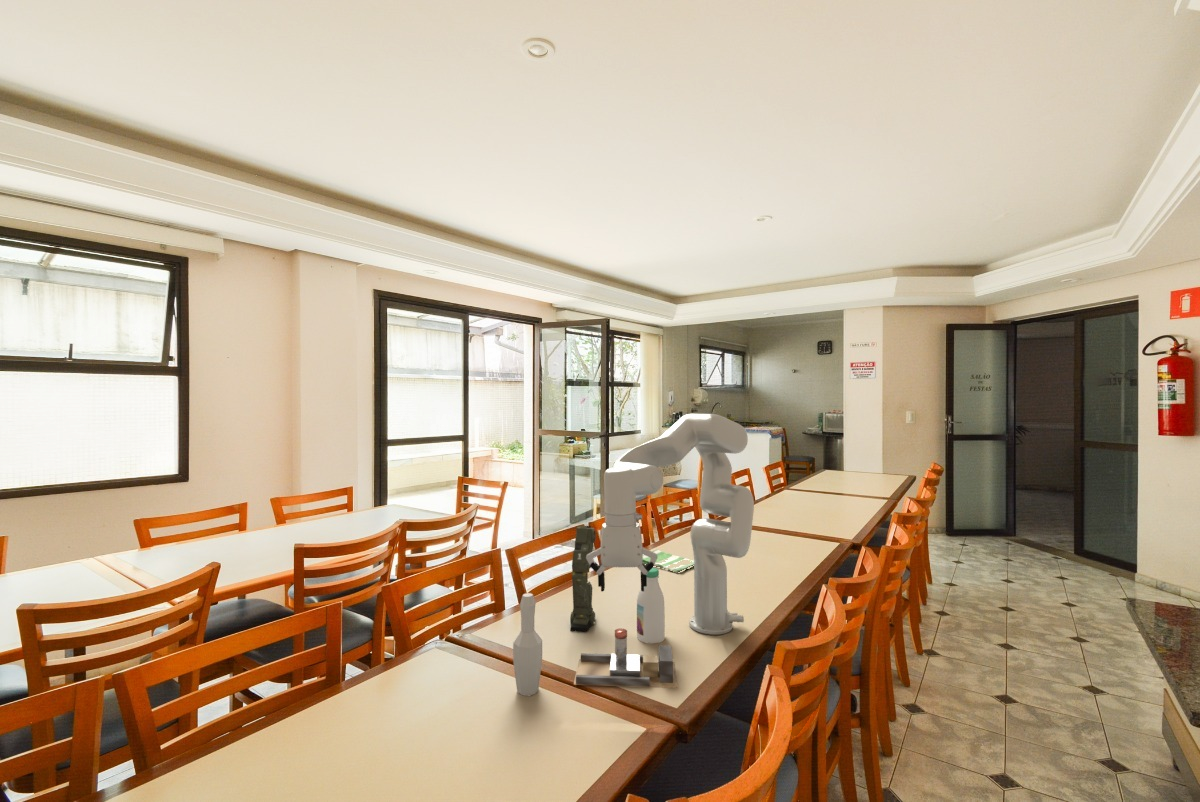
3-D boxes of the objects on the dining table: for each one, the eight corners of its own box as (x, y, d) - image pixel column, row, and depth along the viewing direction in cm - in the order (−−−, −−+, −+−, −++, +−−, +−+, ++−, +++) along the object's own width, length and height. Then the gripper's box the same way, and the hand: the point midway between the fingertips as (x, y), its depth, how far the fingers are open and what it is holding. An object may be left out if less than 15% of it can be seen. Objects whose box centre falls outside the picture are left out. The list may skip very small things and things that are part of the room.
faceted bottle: (529, 701, 117) (529, 602, 118) (508, 692, 121) (508, 596, 121) (547, 687, 123) (547, 593, 123) (526, 680, 126) (526, 588, 126)
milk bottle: (667, 637, 149) (666, 566, 149) (661, 649, 142) (661, 575, 142) (640, 633, 152) (640, 564, 152) (633, 645, 144) (633, 572, 144)
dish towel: (679, 575, 204) (679, 568, 204) (632, 563, 220) (632, 557, 220) (703, 565, 217) (703, 558, 217) (657, 554, 233) (657, 548, 233)
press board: (674, 666, 132) (674, 642, 132) (678, 693, 120) (677, 665, 120) (579, 663, 134) (579, 639, 134) (573, 689, 122) (573, 662, 122)
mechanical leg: (587, 635, 149) (592, 525, 156) (562, 632, 150) (569, 524, 157) (597, 627, 162) (601, 526, 169) (574, 625, 163) (579, 525, 170)
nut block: (657, 670, 128) (657, 655, 128) (658, 677, 125) (658, 662, 125) (643, 669, 129) (643, 655, 129) (643, 677, 125) (643, 662, 125)
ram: (639, 664, 131) (639, 624, 131) (639, 681, 123) (639, 638, 123) (611, 663, 131) (611, 623, 132) (609, 680, 123) (609, 638, 124)
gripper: (655, 515, 131) (657, 583, 131) (586, 516, 132) (588, 583, 132) (657, 522, 123) (659, 595, 124) (583, 523, 124) (585, 595, 125)
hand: (622, 589), depth 128 cm, fingers open, 9 cm apart
